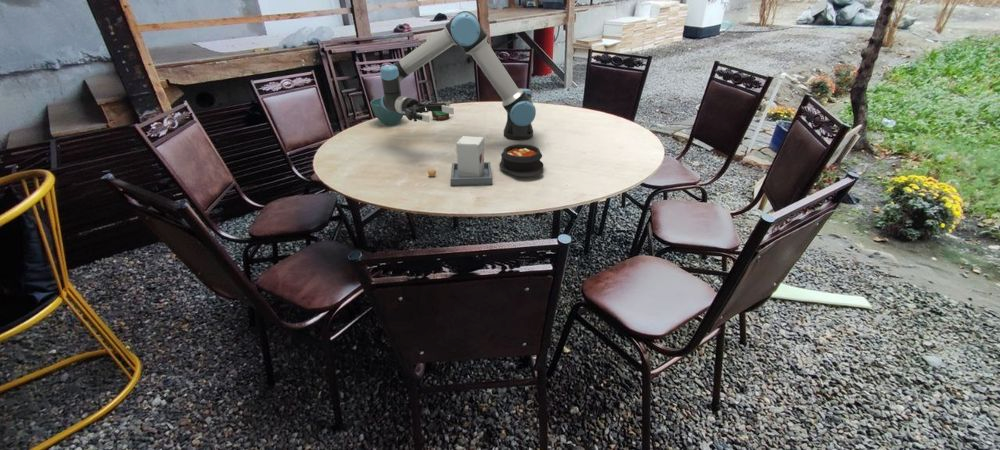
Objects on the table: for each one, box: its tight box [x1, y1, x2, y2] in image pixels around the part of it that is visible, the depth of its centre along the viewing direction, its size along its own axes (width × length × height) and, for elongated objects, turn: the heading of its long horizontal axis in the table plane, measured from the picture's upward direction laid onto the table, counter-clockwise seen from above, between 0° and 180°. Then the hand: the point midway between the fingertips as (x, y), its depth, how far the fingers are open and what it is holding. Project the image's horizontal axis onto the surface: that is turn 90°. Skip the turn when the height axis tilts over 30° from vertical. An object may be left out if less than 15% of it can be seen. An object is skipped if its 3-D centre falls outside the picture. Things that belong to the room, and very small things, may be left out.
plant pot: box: [370, 97, 404, 126], centre depth 228 cm, size 18×18×12 cm
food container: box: [429, 99, 451, 122], centre depth 234 cm, size 12×6×10 cm, turn 117°
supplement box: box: [456, 135, 485, 178], centre depth 166 cm, size 9×9×15 cm
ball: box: [427, 168, 437, 177], centre depth 170 cm, size 3×3×3 cm
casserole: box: [499, 143, 544, 178], centre depth 175 cm, size 25×19×8 cm
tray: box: [450, 161, 493, 187], centre depth 169 cm, size 16×16×3 cm
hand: (441, 114), depth 171 cm, fingers open, 13 cm apart
